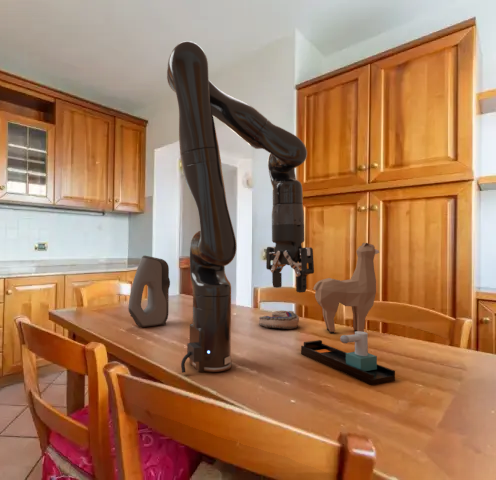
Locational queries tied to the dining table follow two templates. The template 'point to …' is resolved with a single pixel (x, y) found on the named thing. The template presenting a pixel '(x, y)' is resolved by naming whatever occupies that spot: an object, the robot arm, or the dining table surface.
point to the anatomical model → (280, 320)
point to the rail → (338, 362)
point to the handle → (360, 352)
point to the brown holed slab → (150, 292)
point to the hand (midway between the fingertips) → (288, 289)
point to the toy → (350, 291)
